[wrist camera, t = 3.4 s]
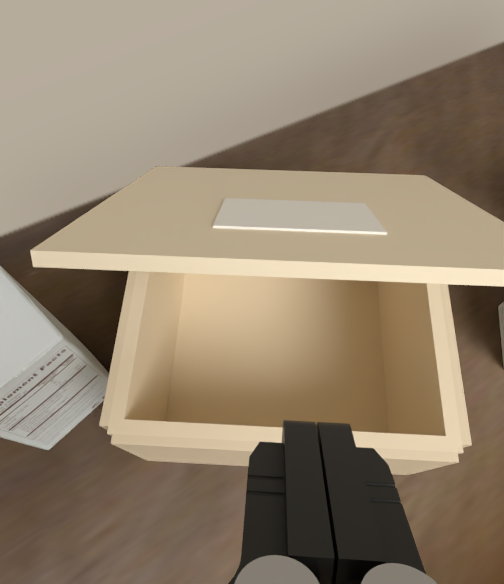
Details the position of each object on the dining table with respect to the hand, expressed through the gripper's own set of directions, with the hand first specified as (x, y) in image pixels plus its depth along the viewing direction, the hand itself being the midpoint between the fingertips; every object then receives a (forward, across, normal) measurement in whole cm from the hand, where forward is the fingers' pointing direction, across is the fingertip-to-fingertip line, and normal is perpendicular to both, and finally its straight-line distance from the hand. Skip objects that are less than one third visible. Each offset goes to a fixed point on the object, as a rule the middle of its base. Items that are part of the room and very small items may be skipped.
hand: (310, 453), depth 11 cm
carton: (+26, 0, +11) cm, 29 cm away
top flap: (+15, 0, -3) cm, 15 cm away
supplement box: (+24, +18, +14) cm, 33 cm away
